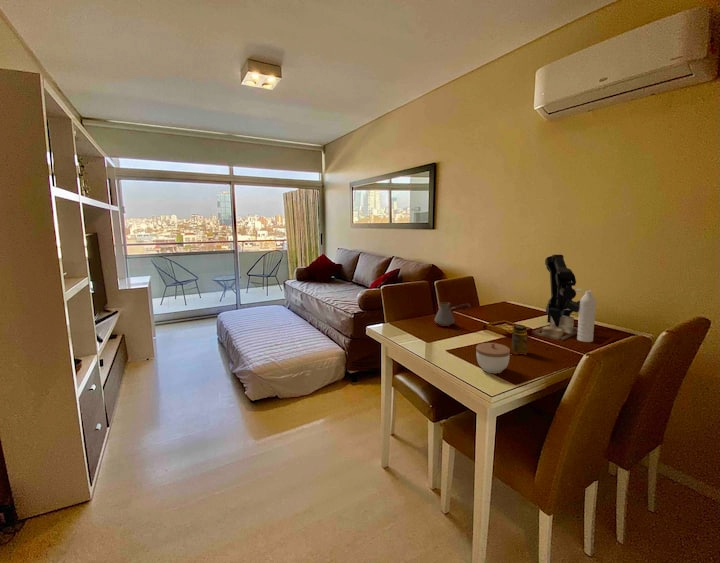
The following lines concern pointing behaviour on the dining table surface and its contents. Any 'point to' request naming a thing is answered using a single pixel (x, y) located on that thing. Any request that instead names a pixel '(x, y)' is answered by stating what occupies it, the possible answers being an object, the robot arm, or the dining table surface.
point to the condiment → (519, 339)
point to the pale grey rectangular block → (564, 324)
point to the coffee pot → (446, 313)
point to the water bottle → (586, 317)
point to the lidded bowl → (492, 357)
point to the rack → (554, 336)
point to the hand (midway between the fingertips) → (561, 324)
